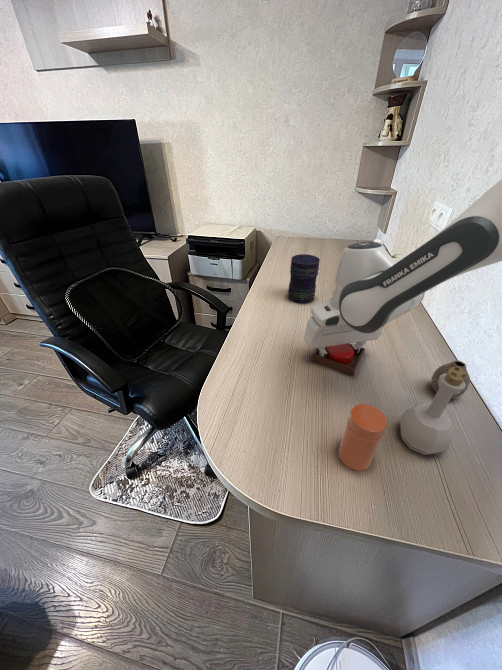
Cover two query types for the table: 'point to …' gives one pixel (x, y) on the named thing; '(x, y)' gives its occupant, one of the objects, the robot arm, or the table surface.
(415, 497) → the table surface
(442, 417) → the potion bottle
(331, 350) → the jar lid
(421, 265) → the robot arm
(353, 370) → the tray
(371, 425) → the jar
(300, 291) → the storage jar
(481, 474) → the table surface
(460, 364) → the vase
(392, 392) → the table surface
